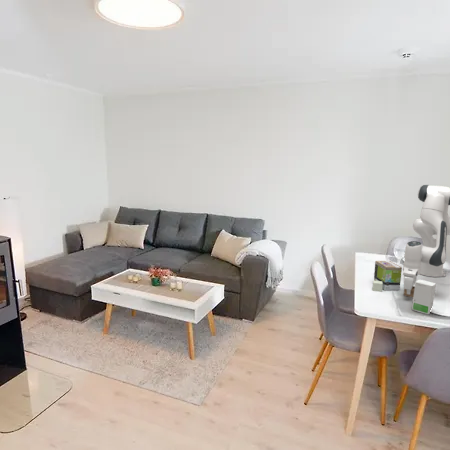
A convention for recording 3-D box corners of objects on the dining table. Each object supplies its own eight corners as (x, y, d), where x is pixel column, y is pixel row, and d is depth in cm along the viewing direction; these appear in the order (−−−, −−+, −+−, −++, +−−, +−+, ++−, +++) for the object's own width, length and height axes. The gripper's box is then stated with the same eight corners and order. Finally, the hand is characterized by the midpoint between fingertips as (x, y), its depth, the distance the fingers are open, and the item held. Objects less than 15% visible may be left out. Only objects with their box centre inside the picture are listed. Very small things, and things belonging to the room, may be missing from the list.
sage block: (372, 288, 209) (373, 280, 208) (381, 289, 207) (382, 281, 207) (372, 290, 205) (373, 282, 204) (382, 291, 203) (382, 284, 202)
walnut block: (405, 292, 201) (405, 284, 200) (414, 294, 198) (415, 286, 197) (403, 295, 197) (404, 287, 196) (413, 297, 194) (414, 289, 193)
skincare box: (411, 310, 177) (414, 281, 174) (415, 306, 182) (418, 278, 179) (429, 315, 171) (432, 285, 169) (433, 311, 176) (436, 282, 173)
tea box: (400, 290, 205) (402, 267, 202) (383, 290, 205) (385, 267, 202) (388, 282, 220) (390, 260, 217) (373, 282, 220) (374, 260, 217)
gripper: (408, 264, 205) (406, 286, 207) (402, 273, 189) (400, 296, 191) (420, 266, 201) (418, 288, 204) (415, 275, 185) (412, 299, 188)
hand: (409, 292), depth 197 cm, fingers closed on walnut block, 5 cm apart
